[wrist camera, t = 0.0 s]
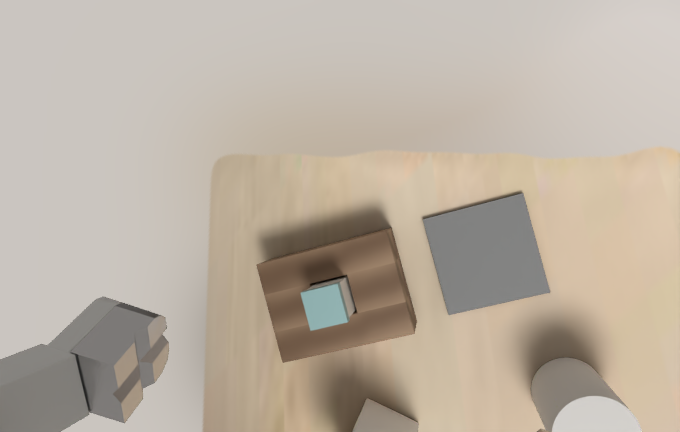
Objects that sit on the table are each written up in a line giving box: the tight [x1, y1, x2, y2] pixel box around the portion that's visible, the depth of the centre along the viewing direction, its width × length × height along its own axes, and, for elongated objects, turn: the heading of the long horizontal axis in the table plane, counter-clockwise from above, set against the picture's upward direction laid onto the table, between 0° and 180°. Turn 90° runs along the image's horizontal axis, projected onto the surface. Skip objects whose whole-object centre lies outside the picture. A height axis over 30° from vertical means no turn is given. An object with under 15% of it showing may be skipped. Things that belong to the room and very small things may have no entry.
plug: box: [301, 275, 356, 331], centre depth 61 cm, size 4×4×11 cm
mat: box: [423, 193, 550, 315], centre depth 63 cm, size 12×12×1 cm
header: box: [257, 228, 417, 363], centre depth 64 cm, size 12×16×6 cm
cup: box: [531, 358, 642, 432], centre depth 56 cm, size 8×8×12 cm
